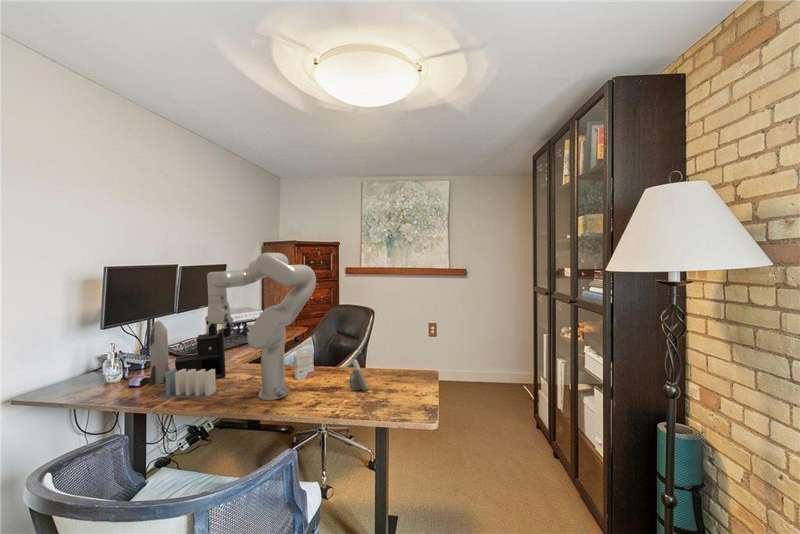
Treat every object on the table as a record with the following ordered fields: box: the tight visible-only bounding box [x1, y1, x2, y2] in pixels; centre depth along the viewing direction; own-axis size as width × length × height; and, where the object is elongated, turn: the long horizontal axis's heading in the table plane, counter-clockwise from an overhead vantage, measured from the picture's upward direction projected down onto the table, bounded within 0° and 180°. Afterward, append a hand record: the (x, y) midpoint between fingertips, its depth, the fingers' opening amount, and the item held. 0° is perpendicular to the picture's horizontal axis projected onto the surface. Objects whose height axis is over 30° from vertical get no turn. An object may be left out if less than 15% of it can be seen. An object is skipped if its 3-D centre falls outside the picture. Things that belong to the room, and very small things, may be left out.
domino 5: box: [205, 369, 217, 396], centre depth 156 cm, size 2×5×10 cm, turn 176°
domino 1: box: [165, 368, 177, 395], centre depth 157 cm, size 2×5×10 cm, turn 176°
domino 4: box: [195, 369, 206, 396], centre depth 156 cm, size 2×5×10 cm, turn 176°
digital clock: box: [349, 359, 369, 392], centre depth 163 cm, size 16×9×11 cm, turn 2°
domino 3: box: [185, 369, 196, 395], centre depth 156 cm, size 2×5×10 cm, turn 176°
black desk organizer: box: [174, 328, 227, 380], centre depth 176 cm, size 23×11×24 cm, turn 115°
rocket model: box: [148, 320, 171, 387], centre depth 173 cm, size 14×7×30 cm, turn 177°
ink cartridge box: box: [293, 347, 315, 381], centre depth 177 cm, size 9×5×15 cm, turn 120°
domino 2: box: [175, 369, 186, 395], centre depth 157 cm, size 2×5×10 cm, turn 176°
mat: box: [157, 388, 223, 399], centre depth 157 cm, size 23×10×1 cm, turn 86°
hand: (219, 336), depth 161 cm, fingers open, 9 cm apart
